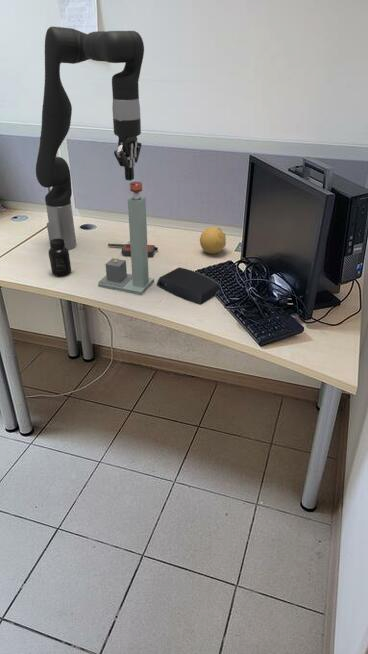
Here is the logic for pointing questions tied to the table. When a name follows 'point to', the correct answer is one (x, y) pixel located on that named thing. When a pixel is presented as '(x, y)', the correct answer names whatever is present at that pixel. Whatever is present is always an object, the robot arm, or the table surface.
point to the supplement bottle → (59, 258)
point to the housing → (116, 270)
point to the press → (135, 252)
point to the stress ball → (212, 240)
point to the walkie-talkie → (127, 249)
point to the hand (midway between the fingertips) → (129, 179)
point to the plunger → (136, 189)
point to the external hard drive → (189, 285)
